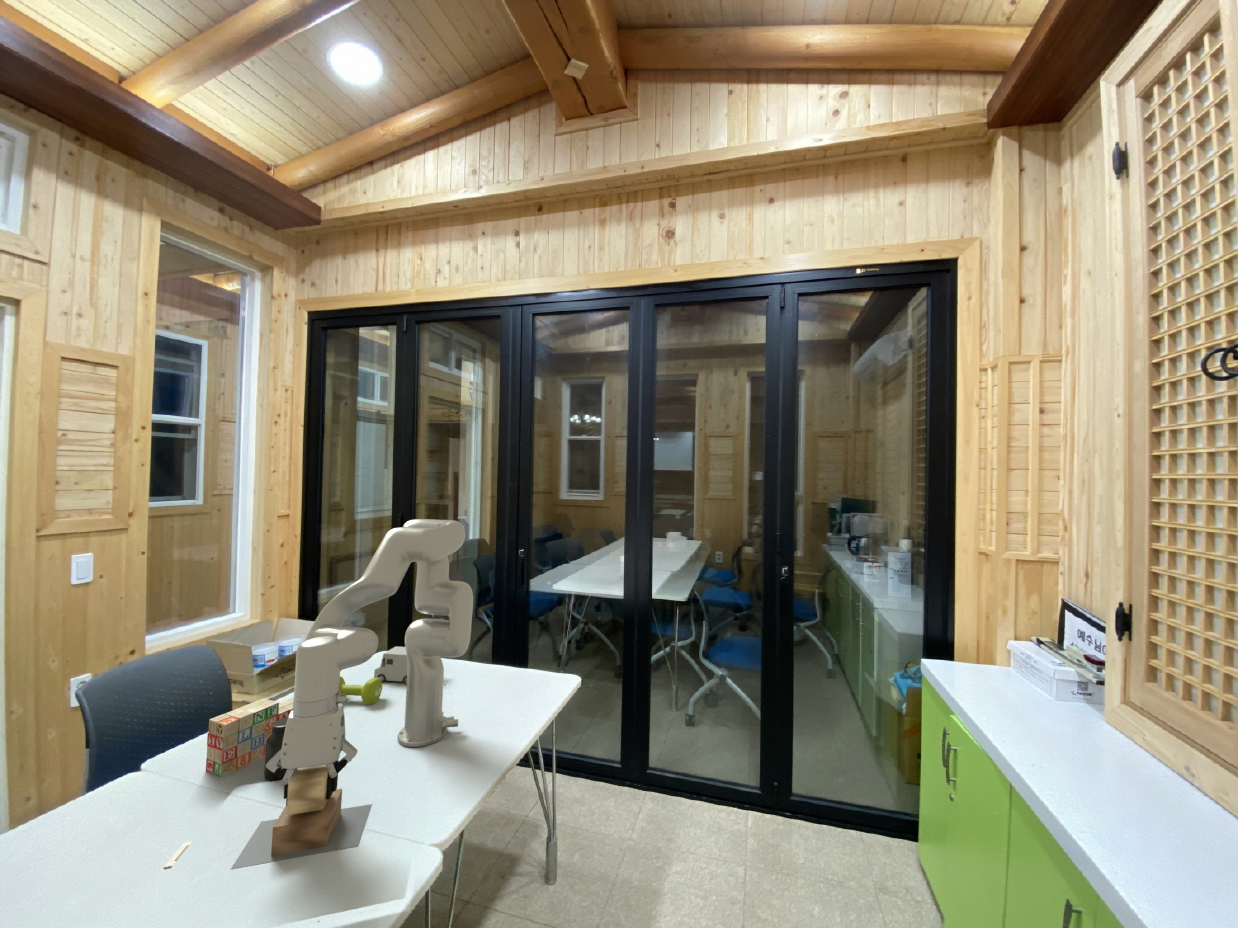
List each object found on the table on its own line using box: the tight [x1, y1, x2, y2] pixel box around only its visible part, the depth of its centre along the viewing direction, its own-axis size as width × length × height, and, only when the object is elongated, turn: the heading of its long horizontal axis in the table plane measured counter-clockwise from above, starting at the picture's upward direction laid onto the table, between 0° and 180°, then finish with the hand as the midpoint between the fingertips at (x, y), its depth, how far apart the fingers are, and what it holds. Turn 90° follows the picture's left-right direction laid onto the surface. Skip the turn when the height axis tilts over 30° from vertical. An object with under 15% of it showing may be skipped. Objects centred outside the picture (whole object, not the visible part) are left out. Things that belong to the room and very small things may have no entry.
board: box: [230, 803, 373, 870], centre depth 89 cm, size 20×12×1 cm, turn 107°
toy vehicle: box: [373, 646, 407, 685], centre depth 165 cm, size 9×18×10 cm, turn 85°
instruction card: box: [163, 840, 193, 869], centre depth 86 cm, size 8×6×1 cm
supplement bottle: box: [263, 717, 297, 783], centre depth 110 cm, size 7×7×12 cm
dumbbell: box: [339, 675, 383, 706], centre depth 147 cm, size 16×8×7 cm, turn 87°
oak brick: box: [286, 765, 329, 815], centre depth 90 cm, size 6×6×6 cm
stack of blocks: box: [205, 697, 294, 778], centre depth 119 cm, size 21×6×12 cm, turn 158°
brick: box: [271, 788, 343, 856], centre depth 90 cm, size 9×9×5 cm
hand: (310, 796), depth 90 cm, fingers closed on oak brick, 6 cm apart
